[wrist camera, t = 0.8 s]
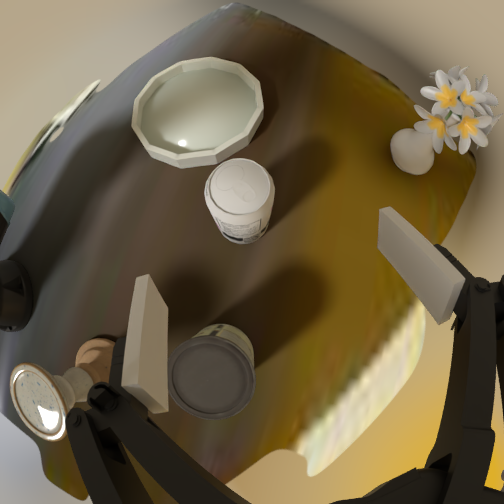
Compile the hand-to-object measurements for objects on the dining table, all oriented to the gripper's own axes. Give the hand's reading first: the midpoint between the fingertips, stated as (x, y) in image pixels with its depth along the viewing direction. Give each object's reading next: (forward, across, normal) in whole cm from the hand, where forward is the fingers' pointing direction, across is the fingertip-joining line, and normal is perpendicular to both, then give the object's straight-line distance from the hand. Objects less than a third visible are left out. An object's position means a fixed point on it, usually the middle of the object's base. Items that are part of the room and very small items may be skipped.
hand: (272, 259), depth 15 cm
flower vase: (+31, +33, -12) cm, 47 cm away
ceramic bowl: (+45, -3, +3) cm, 45 cm away
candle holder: (+16, -30, -27) cm, 44 cm away
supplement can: (+29, 0, -14) cm, 32 cm away
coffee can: (+15, -9, -28) cm, 33 cm away
